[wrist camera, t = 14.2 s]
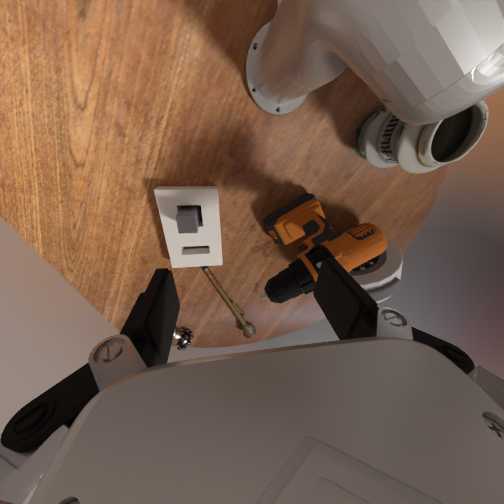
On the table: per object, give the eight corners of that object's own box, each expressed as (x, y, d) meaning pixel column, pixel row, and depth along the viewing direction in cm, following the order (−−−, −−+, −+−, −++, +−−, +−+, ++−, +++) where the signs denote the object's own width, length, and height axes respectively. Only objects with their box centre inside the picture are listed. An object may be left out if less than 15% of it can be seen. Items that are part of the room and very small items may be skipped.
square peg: (182, 204, 44) (175, 216, 37) (199, 204, 45) (195, 215, 38) (184, 219, 46) (178, 233, 39) (200, 219, 47) (197, 233, 40)
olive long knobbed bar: (197, 267, 56) (212, 260, 56) (245, 333, 73) (256, 328, 73) (197, 276, 52) (212, 268, 52) (248, 344, 69) (259, 338, 69)
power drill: (254, 250, 54) (276, 324, 33) (241, 230, 50) (256, 299, 29) (323, 210, 50) (398, 264, 29) (315, 186, 47) (393, 228, 25)
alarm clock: (368, 226, 55) (433, 265, 38) (368, 246, 59) (427, 290, 42) (300, 252, 56) (334, 301, 40) (304, 270, 60) (337, 321, 44)
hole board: (157, 186, 41) (153, 189, 39) (217, 186, 43) (217, 189, 41) (174, 261, 52) (172, 267, 49) (222, 258, 54) (222, 264, 51)
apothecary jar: (355, 102, 39) (442, 81, 23) (408, 99, 40) (525, 75, 24) (343, 166, 45) (406, 182, 30) (390, 162, 46) (473, 174, 31)
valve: (154, 320, 62) (180, 336, 68) (147, 338, 57) (177, 354, 63) (168, 311, 61) (194, 328, 67) (163, 328, 56) (192, 345, 62)
